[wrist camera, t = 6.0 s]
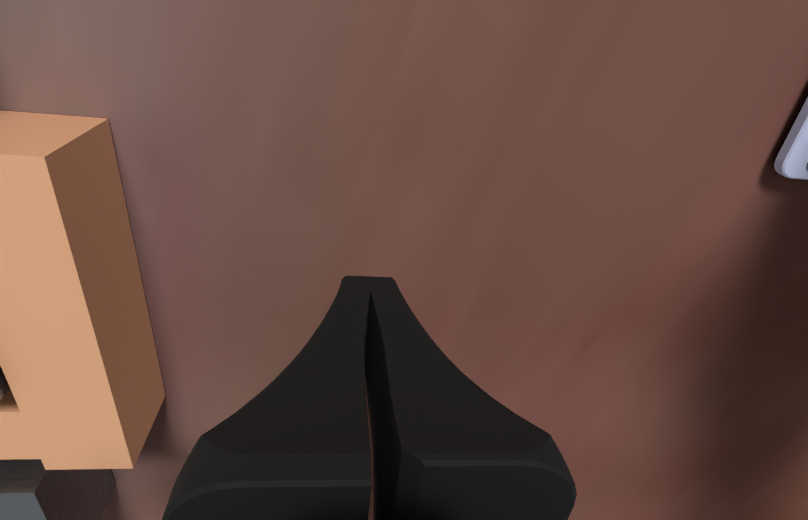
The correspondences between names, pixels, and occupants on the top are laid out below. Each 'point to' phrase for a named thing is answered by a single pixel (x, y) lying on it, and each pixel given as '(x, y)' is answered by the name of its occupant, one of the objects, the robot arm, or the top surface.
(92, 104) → the top surface
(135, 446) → the clip
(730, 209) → the top surface
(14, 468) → the grey hollow block
